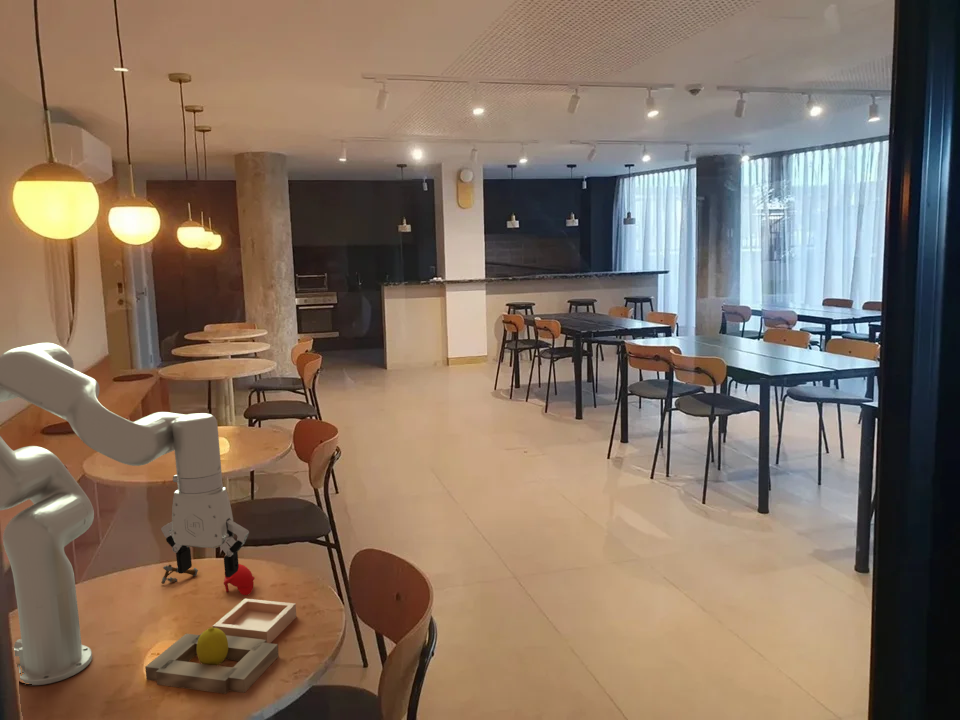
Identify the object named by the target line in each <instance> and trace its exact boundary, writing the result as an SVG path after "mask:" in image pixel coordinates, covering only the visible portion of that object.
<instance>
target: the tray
mask: <svg viewBox="0 0 960 720" xmlns="http://www.w3.org/2000/svg"><path fill="white" fill-rule="evenodd" d="M296 618H297V604H296V603H294V602H285V601H273V600H265V599H263V600H262V599H255V598H254V599H253V598H243V600H241V601H240V602H239V603H238V604H236V605H235V606H234V607H233V608H232V609H230V610H229V611H228V612H227V613H226V614H225V615H224V616H222V617H221V618H220V619H219V620H218V621H216V622H215V623H214V624H212V627H213V628H218V629H220V630H222V631H223V632H224V633H225V635H228V636H237V637H245V638H254V639H263V640H266V643H272V642H273V641H275V639H277V637H278V636H279V635H280V634H282V632H283V631H284V630H285V629H286V628H288V626H289V625H290V624H291V623H292V622H293V621H294V620H295V619H296Z"/></svg>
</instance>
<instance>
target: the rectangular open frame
mask: <svg viewBox="0 0 960 720" xmlns="http://www.w3.org/2000/svg"><path fill="white" fill-rule="evenodd" d="M202 633H203V632H201V633H200V634H192V633H185V634H184V635H182V636H181V637H180V638H179V639H178V640H176V641H175V642H174V643H172V644H171V645H170V646H168V648H167V649H165V650H164V651H162V653H161V654H159V655H158V656H157V657H155V658H154V659H153V660H151V662H149V663H148V664H147V665H146V666H144V667H145V677H146V680H149V681H156V685H158V686H167V687H174V688H181V689H188V690H195V691H197V690H198V691H203V692H204V691H205V692H211V693H216V694H217V693H219V694H225V695H226V694H228V692H239V693H246V692H247V690H248V689H250V687H251V686H253V684H255V682H256V681H257V680H259V678H260V677H261V676H262V675H263V674H264V672H266V670H267V669H268V668H269V667H270V666H271V665H272V664H273V663H274V662H275V661H276V659H278V657H279V644H278V643H272V642H271V643H266V640H263V639H254V638H245V637H237V636H228V635H226V637H227V641H228V653H227V656H226V658H225V660H230V661H238V662H237V663H236V664H234V666H232V667H231V666H225V665H224V666H223V665H209V664H202V663H201V662H200V663H199V662H192V661H191V660H193V658H194V657H196V656H197V642H198V639H199V637H200V635H201V634H202ZM197 657H198V656H197Z"/></svg>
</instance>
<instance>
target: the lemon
mask: <svg viewBox="0 0 960 720" xmlns="http://www.w3.org/2000/svg"><path fill="white" fill-rule="evenodd" d="M201 633H202V634H201ZM201 633H200V634H201V635H200V634H199V635H200V637H199V639H198V642H197V657H198V661H199V662H200V663H201V664H209V665H217V666H220V665H221V664H222V663H223V662H224V661H225V660H226V659H225V658H226V656H227V653H228V641H227V637H226V635H225V633H224V632H223V631H222V630H220V629H218V628H213V626H210V627H209V628H207V629H205V630H204V631H202V632H201Z"/></svg>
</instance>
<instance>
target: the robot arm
mask: <svg viewBox="0 0 960 720" xmlns="http://www.w3.org/2000/svg"><path fill="white" fill-rule="evenodd" d="M74 366H75V365H74V361H73V357H72V356H71V354H70V353H69V351H68V350H67V349H65V348H64V347H63V346H61V345H59V344H56V343H53V342H39V343H33V344H27V345H23V346H18V347H15V348H14V347H13V348H11V349H9V350H7V351H4V353H2V354H1V355H0V404H1V403H3V402H7V401H10V400H13V399H16V398H17V399H18V398H19V399H22V400H24V401H26V402H28V403H30V404H32V405H34V406H36V407H38V408H40V409H42V410H45V411H46V412H49V413H51V414H52V415H55V416H57V417H58V418H61V419H62V420H64V421H67V423H69V425H70V428H71V429H72V431H73V433H74V434H76V436H77V437H78V438H79V440H81V441H82V442H83V444H85V445H86V446H87V447H89V448H90V449H92V450H94V451H95V452H98V453H99V454H101V455H103V456H105V457H107V458H110V459H112V460H114V461H116V462H119V463H121V464H124V465H127V466H134V467H140V466H145V465H148V464H149V463H151V462H153V461H155V460H157V459H158V458H160V457H162V456H164V455H167V454H168V453H171V452H173V451H174V457H175V459H174V461H175V469H176V474H175V475H173V476H172V482H173V483H176V484H177V489H176V490H175V491H174V492H173V499H172V507H171V509H172V511H171V522H168V523H167V524H165V525H164V526H161V529H160V530H161V532H162V534H163V536H164V538H166V539H165V541H166V543H167V544H168V545H169V546H170V547H171V548H172V550H171V551H172V552H173V553H175V556H176V567H178V574H185V573H184V572H185V571H186V570H188V569H192V567H193V565H192V564H193V563H192V553H191V548H190V547H193V548H194V547H195V548H205V549H206V548H208V549H209V548H210V549H211V548H212V549H215V548H219V547H220V549H221V550H222V551H223V552H224V554H225V555H224V557H223V565H224V577H225V576H226V577H231V576H232V575H233V574H235V573H236V572H237V571H238V567H239V564H240V563H239V555H238V554H239V553H238V552H240V550H241V548H242V547H243V546H244V545H245V544H246V541H247V539H248V537H249V534H250V531H249V530H248V529H247V528H245V527H243V526H241V524H238V523H236V522H235V521H234V517H233V516H234V515H233V511H232V507H231V503H230V502H231V500H230V498H229V494H228V492H227V491H228V490H227V489H226V487H225V486H224V484H223V471H222V463H221V462H222V460H221V450H220V449H221V448H220V440H219V439H220V438H219V427H218V425H219V424H218V421H217V419H216V417H215V415H212V414H211V413H206V412H200V413H199V412H198V413H188V414H183V413H177V412H176V413H175V412H169V411H157V412H153V413H151V414H149V415H147V416H143V417H142V418H139V419H136V420H135V421H131V420H130V419H126V418H124V417H122V416H121V415H119V414H116V413H114V412H112V411H110V409H107V408H106V407H105V406H103V405H102V404H101V403H100V400H98V398H99V396H100V395H99V394H100V384H99V382H98V381H97V380H96V379H95V378H93V377H92V376H89V375H87V374H85V373H83V372H82V371H78V370H77V369H74ZM28 500H29V501H31V503H32V505H30V506H29V507H27V508H25V509H23V510H21V511H20V512H18V513H17V514H16V515H14V516H13V517H12V518H11V519H10V520H9V521H8V523H7V524H6V526H5V528H4V530H3V534H2V541H3V542H2V544H3V547H4V551H5V553H6V556H7V559H8V562H9V564H10V568H11V571H12V572H11V573H12V578H13V584H14V591H15V598H16V605H17V606H16V607H17V614H18V622H19V623H18V624H19V631H20V638H19V639H17V640H16V641H14V644H13V645H14V646H13V648H14V651H15V656H14V657H19V658H18V659H19V664H18V665H17V666H18V667H19V673H20V674H21V669H20V666H21V668H22V673H24V674H22V676H21V675H20V679H21V680H23V681H24V682H25V683H29V684H32V685H31V686H43V685H50V684H53V683H57V682H60V681H63V680H66V679H68V678H71V677H72V676H74V675H77V674H78V673H80V672H81V671H83V670H85V668H86V667H88V665H89V664H90V663H91V662H92V661H93V652H92V649H91V648H90V647H89V646H87V645H84V644H82V637H81V626H80V617H79V607H78V600H77V589H76V588H77V587H76V579H75V573H74V572H75V571H74V569H73V566H72V563H71V562H70V560H69V557H68V556H67V555H66V553H65V547H66V546H67V545H69V544H70V543H71V542H73V541H74V540H75V539H77V538H79V537H80V536H82V535H83V534H85V532H87V530H89V528H90V527H91V526H92V524H93V522H94V517H95V511H94V506H93V505H92V502H91V500H90V498H89V497H88V495H87V494H86V492H85V491H84V490H83V488H82V487H81V486H80V484H79V483H78V481H77V480H76V479H75V477H74V476H73V475H72V474H71V473H70V470H68V468H67V467H66V465H64V463H63V462H62V461H61V459H60V458H59V457H58V455H56V454H55V453H53V452H52V451H50V450H49V449H46V448H45V447H41V446H39V445H38V446H37V445H29V446H23V447H20V448H17V449H12V448H11V447H10V446H9V445H8V444H7V443H6V442H5V440H4V439H3V437H2V436H1V435H0V511H4V510H9V509H12V508H14V507H16V506H18V505H21V504H22V503H24V502H26V501H28ZM234 535H236V536H237V539H235V538H234Z"/></svg>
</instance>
